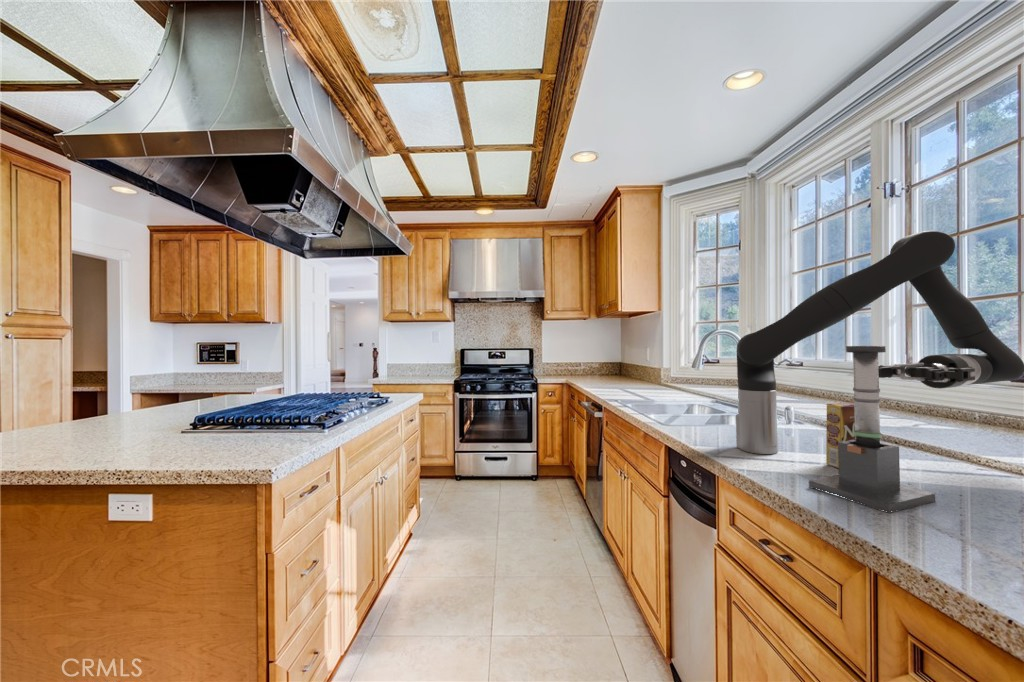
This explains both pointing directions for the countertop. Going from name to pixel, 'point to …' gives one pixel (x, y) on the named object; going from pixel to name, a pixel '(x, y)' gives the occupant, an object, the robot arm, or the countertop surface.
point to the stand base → (872, 478)
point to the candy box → (838, 429)
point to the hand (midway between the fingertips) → (903, 374)
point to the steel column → (866, 394)
